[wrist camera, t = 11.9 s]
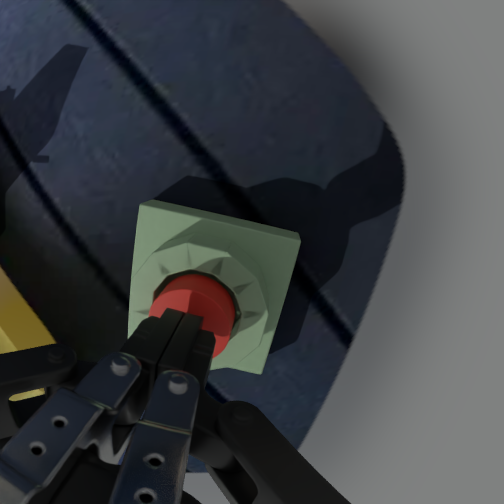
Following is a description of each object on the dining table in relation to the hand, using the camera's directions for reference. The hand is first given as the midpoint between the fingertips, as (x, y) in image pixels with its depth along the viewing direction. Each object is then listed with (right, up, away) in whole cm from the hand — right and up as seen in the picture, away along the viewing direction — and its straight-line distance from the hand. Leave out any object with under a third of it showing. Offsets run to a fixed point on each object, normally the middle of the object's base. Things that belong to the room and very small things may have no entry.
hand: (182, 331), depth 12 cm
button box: (0, +1, +5) cm, 6 cm away
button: (0, 0, +2) cm, 2 cm away
